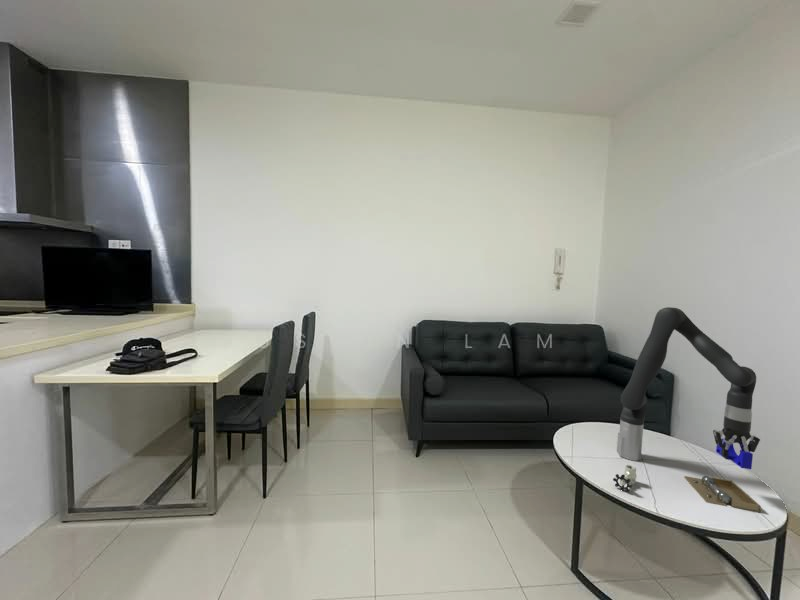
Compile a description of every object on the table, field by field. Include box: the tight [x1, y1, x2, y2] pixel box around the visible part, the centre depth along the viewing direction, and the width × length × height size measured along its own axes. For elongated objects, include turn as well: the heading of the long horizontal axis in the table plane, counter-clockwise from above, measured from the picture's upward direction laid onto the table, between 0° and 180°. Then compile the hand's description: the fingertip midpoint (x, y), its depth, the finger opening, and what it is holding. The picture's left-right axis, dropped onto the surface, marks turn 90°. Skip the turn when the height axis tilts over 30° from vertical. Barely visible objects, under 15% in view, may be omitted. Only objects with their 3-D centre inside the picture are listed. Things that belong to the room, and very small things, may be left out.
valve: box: [612, 464, 638, 493], centre depth 137 cm, size 7×7×12 cm
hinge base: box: [683, 475, 762, 513], centre depth 134 cm, size 16×17×3 cm
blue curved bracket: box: [715, 438, 754, 470], centre depth 132 cm, size 12×4×6 cm, turn 165°
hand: (733, 458), depth 132 cm, fingers closed on blue curved bracket, 4 cm apart
